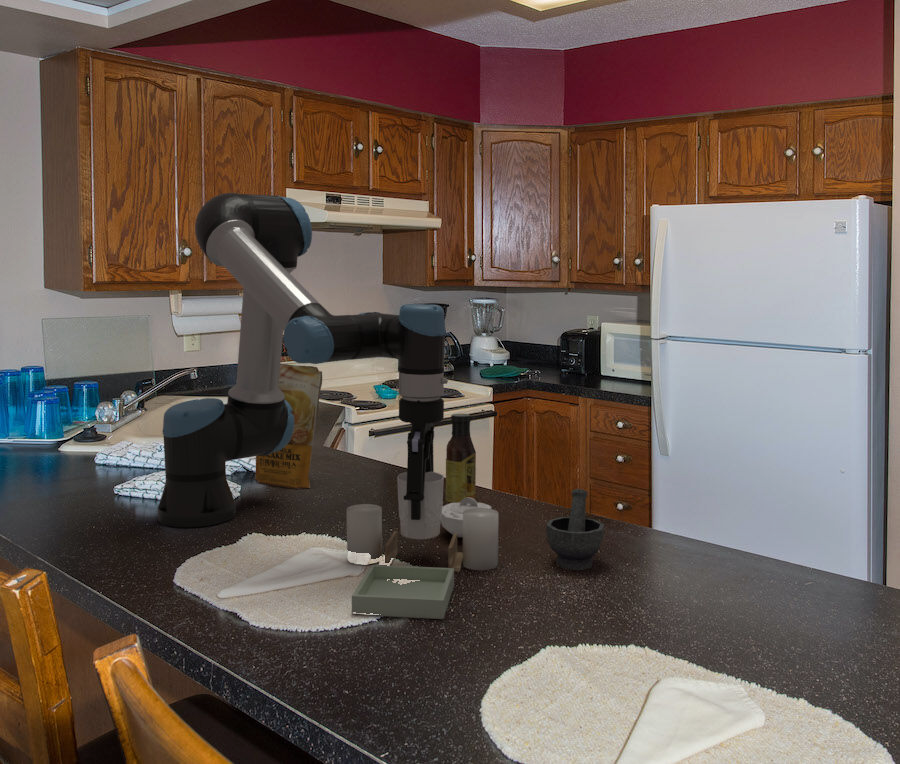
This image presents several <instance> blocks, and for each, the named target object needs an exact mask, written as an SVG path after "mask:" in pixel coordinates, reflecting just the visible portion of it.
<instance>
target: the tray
mask: <svg viewBox="0 0 900 764" xmlns="http://www.w3.org/2000/svg"><path fill="white" fill-rule="evenodd" d="M387 579H390V580H388V581H387ZM393 579H400V580H401V579H407V580H420V581H415V582H412V581H411V582H410V583H407V584H402V585H400V584H398V582H399V581H397V582H396V583H393V582H392V581H394V580H393ZM454 587H455V571H454V568H448V567H435V566H434V567H433V566H432V567H431V566H430V567H429V566H407V565H391V566H387V565H378V564H373V565H369V568H368V569H367V570H366V572H365V574H364V576H363V577H362V579H361V580H360V582H359V584H357V586H356V588H355V590H354V592H353V593H352V595H351V613H352V612H356V613H366V614H370V613H373V614H379V615H380V614H381V615H380V616H379V617H393V618H394V617H395V618H411V619H412V618H416V619H436V620H444V619H445V616H446V614H447V613H446V612H447V609H448V607H449V603H450V600H451V597H452V593H453V590H454Z"/></svg>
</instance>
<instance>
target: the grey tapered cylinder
mask: <svg viewBox="0 0 900 764" xmlns="http://www.w3.org/2000/svg"><path fill="white" fill-rule="evenodd" d="M382 513H383V509H382V507H381V506H379V505H378V504H371V503H359V504H354V505H350V506H348V507H347V508H346V551H347V550H348V551H351V552H356V553H369V554H370V555H371V559H376V558H379V557H380V556H382V557H383V514H382Z"/></svg>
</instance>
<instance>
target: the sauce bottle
mask: <svg viewBox="0 0 900 764" xmlns="http://www.w3.org/2000/svg"><path fill="white" fill-rule="evenodd" d="M471 417H472V416H471V414H469V413H452V414H451V416H450V421H451V438H450V440H449V441H448V443H447V445H446V451H445V452H446V456H445V457H446V458H445V505H447V504H450V503H460V502H461V501H462V500H463V499H464V498H467V497H470V498H473V499H474V500H475V501H476V483H477V482H476V480H477V479H476V474H477V473H476V472H477V470H476V469H477V466H476V465H477V464H476V462H477V460H476V459H477V455H476V454H477V453H476V452H477V451H476V449H475V447H474V444H473V441H472V437H471V429H470V428H471V420H472V418H471Z"/></svg>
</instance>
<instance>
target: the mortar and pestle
mask: <svg viewBox="0 0 900 764" xmlns="http://www.w3.org/2000/svg"><path fill="white" fill-rule="evenodd" d="M571 496H572V500H571V506H570V512H569V513H570V514H569V516H560V517H556V518H551V519H549V520H548V521H547V523H546V526H545V527H546V529H545V530H546V531H545V533H546V539H547V540H546V541H547V543H548V545H549V547H550V549H551V550H552V551H553V552H554V553H555V554H556V555H557V557H556V561H555V562H556V563H555V564H556V565H557V566H558V567H560V568H562V569H566V570H569V571H570V570H572V571H579V570H580V571H585V570H586V569H590V568H592V566H593V564H594V561H593V557H594V555H596V554H597V553H598V551H599V549H600V547H601V545H602V543H603V538H604V533H605V524H604V523H603V522H601V521H599V520H597V519H595V518H594V519H593V518H589V517H588V518H587V517H586V510H587V509H586V505H587V504H586V503H587V500H586V499H587V497H588V491H587V490H585V489H582V488H576V489H573V490H571Z"/></svg>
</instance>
